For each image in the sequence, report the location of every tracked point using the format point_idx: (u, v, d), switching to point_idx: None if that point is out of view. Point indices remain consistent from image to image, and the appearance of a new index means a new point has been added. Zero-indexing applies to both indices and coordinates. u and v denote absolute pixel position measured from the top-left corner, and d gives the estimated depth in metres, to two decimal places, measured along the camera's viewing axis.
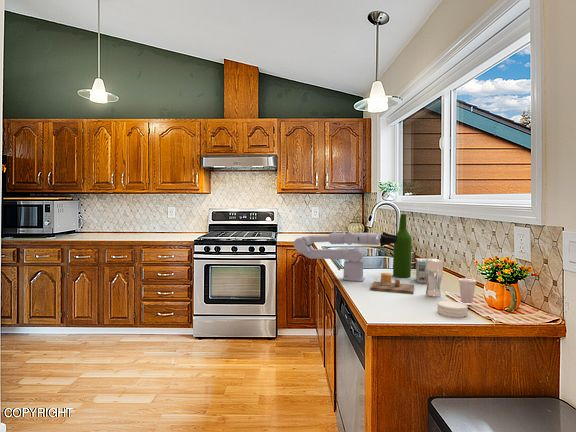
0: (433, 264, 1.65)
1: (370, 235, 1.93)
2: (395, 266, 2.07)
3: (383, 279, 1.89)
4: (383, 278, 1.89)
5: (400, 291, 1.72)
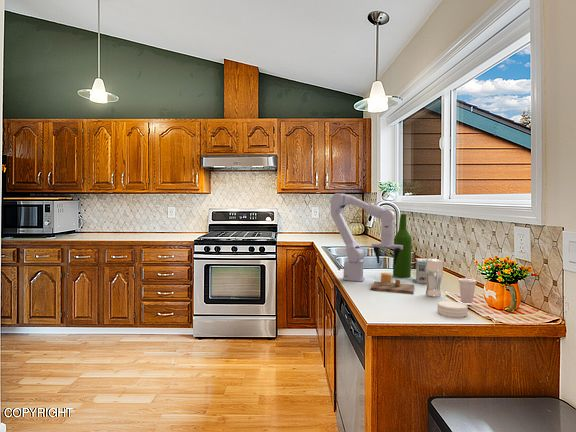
0: (433, 264, 1.65)
1: (382, 238, 1.89)
2: (395, 266, 2.07)
3: (383, 279, 1.89)
4: (383, 278, 1.89)
5: (400, 291, 1.72)
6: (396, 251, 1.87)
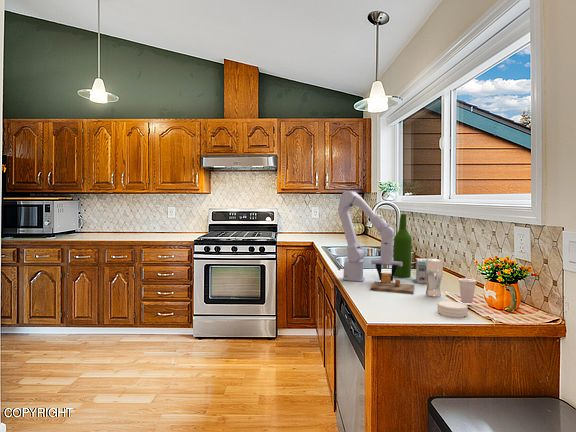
0: (433, 263, 1.65)
1: (382, 255, 1.90)
2: None
3: (383, 279, 1.89)
4: (383, 278, 1.89)
5: (400, 291, 1.72)
6: (393, 268, 1.87)
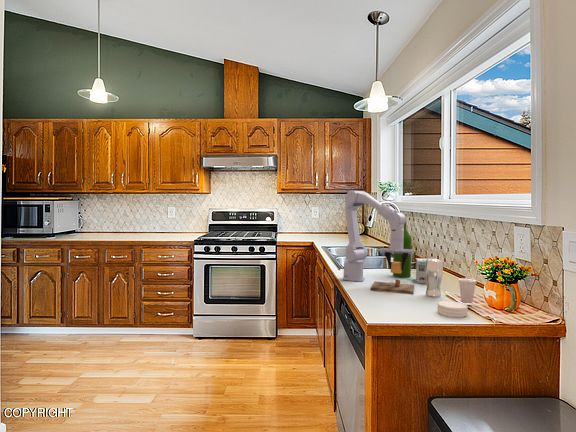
0: (433, 264, 1.65)
1: (391, 242, 1.79)
2: None
3: (393, 268, 1.79)
4: (393, 267, 1.79)
5: (400, 291, 1.72)
6: (404, 256, 1.77)
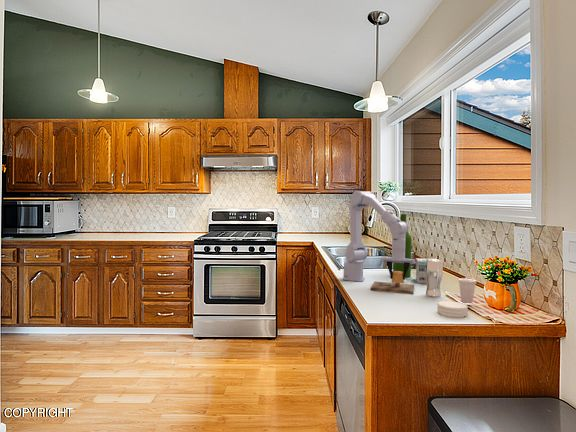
0: (433, 264, 1.65)
1: (393, 252, 1.77)
2: (395, 266, 2.07)
3: (395, 278, 1.77)
4: (395, 277, 1.77)
5: (400, 291, 1.72)
6: (405, 266, 1.75)
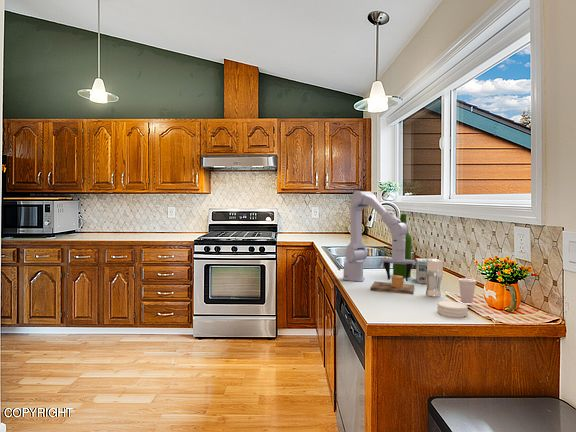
0: (433, 264, 1.65)
1: (393, 253, 1.77)
2: (395, 266, 2.07)
3: (394, 282, 1.77)
4: (394, 281, 1.77)
5: (400, 291, 1.72)
6: (408, 267, 1.74)
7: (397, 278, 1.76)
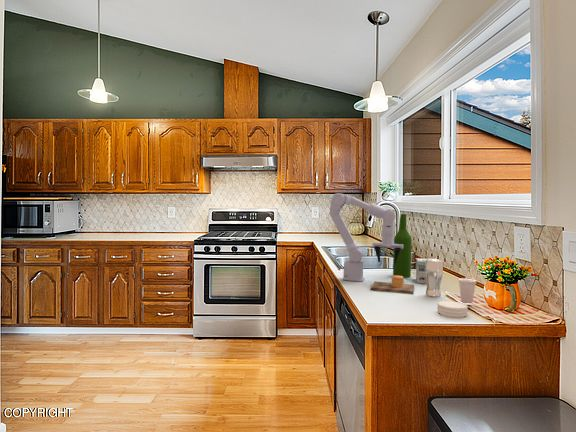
0: (433, 264, 1.65)
1: (383, 237, 1.93)
2: (395, 266, 2.07)
3: (394, 282, 1.77)
4: (394, 281, 1.77)
5: (400, 291, 1.72)
6: (396, 250, 1.90)
7: (397, 278, 1.76)
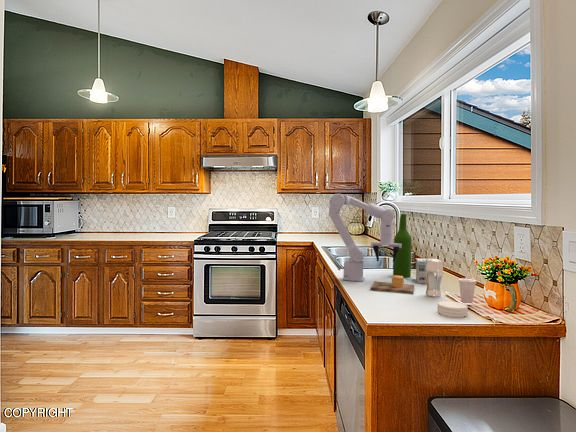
0: (433, 264, 1.65)
1: (381, 237, 1.95)
2: (395, 266, 2.07)
3: (394, 282, 1.77)
4: (394, 281, 1.77)
5: (400, 291, 1.72)
6: (395, 249, 1.93)
7: (397, 278, 1.76)
